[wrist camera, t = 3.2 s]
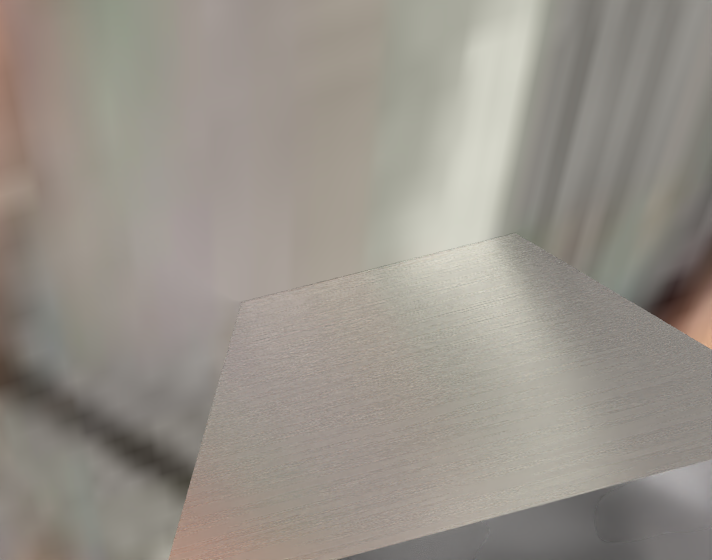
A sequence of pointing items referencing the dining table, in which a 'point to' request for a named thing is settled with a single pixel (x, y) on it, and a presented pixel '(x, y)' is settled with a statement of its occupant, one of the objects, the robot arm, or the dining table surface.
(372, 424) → the brushed steel cube
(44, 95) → the dining table surface
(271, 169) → the dining table surface
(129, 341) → the dining table surface
